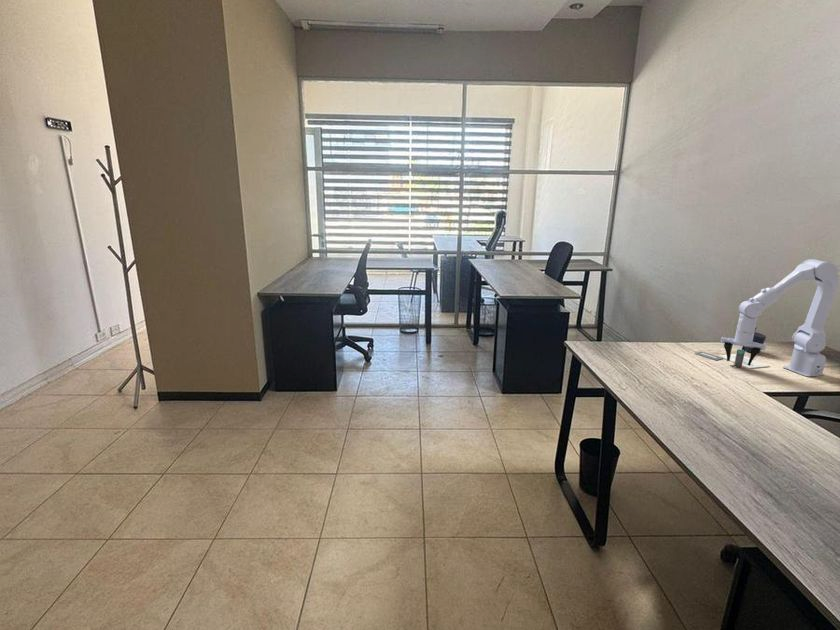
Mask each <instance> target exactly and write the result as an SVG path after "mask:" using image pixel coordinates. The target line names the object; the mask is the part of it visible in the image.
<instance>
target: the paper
mask: <svg viewBox="0 0 840 630" xmlns="http://www.w3.org/2000/svg"><path fill="white" fill-rule="evenodd" d="M736 354H737V353H731V356H730V360H729V361H728V362H731V363H733V364H734V363H735V359H736ZM718 357H722V358H723V360H726V361H727V354H720V355H718ZM749 359H750V357H747V356H745V355H744V358H743V363H742V367H743V368H745V369H749V370H751V369H761V368H768V367H770V365H768V364H766V363H763V362H761V361H758V360H755V359H753V360H752V362H751V365H750V366H749V365H748V362H749Z"/></svg>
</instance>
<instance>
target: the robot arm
mask: <svg viewBox="0 0 840 630" xmlns="http://www.w3.org/2000/svg"><path fill="white" fill-rule="evenodd" d="M839 271H840V268H839V267H837V266H836V265H835V263H833V262H830V261H823V260H818V259H815V258H809V259H805V260H804V261H802V263H800V264H798V265H797V266H796V267H795V269H794V270H793V271H791V272H790V273H789V274H787V276H785V277H784V278H783V279H781V280H780V281H779V282H778V283H776V284H775V285H774V286H772V287H766V288H762V289H760V292H759V293H757V294H756V295H754V296H753V297H750V298H749V299H748V300H745V301H742V302H741V303H740V304H739V305H738V306H737V311H738V312H739V317H738V320H737V321H738V323H737V325H736V331H735V335H734V338H732V337H723V336H722V337H720V343H722V344H723V348H724V350H725V355H727V360H726V361H727V362H730V361H729V360H730V356H731V354H732V349H733V345H735V346H739V347H743V346H745V347H750V348H752V350H751V352H750V356H749V358H750V359H749V362H748V365H749V366H750V365H751V362H752V360H755V357H757V355H758V354H760V353H761V351H766V348H767V344H764V343H763V344H760V343H756V342H752V341H753V337H754V332H756V331H755V328H756V329H757V327H756V326H757V324H758V318H759V317H760V316H762V314H763V313H764V310H766V308H768V307H769V306H771V305H772V304H773V303H775V302H777V301H778V300H780V298H781V294H782V293H784V292H786V291H787V290H789V289H791V288H792V287H794V286H795V285H797V284H799V283H800V282H803V281H814V282H815V283H816V284H817V288H816V290H815V294H814V296H813V299H812V301H811V304H810V307H809V310H808V313H807V315H806V318H805V321H804V323H803V324H802V325H800V326H798V328H797V331H795V332H794V333H793V335H792V337H791V341H792V342H793V343H794V345H793V351H792V354H791V359H790V361H789V365H786V366H785V365H784V366H783V367H782V368H783V369H785V370H789V371H792V372H794V373H796V374H799V375H802V376H805V377H807V378H808V377H818V376H824V375H825V374H824V369H825V365H826V362H827V357H826V356H825V355H824V354H821V353H820V352H822V351H823V350H824V349H825V348H826V345H827V342H826V339H827V334H826V331H825V330H824V326H825V323H826V321H827V319H828V316H829V313H830V310H831V307H832V306H833V302H834V299H835V297H836V295H837V292H838V289H839V286H840V278H839ZM760 349H761V350H760ZM759 352H760V353H759Z"/></svg>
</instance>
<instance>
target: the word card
mask: <svg viewBox="0 0 840 630" xmlns="http://www.w3.org/2000/svg"><path fill="white" fill-rule="evenodd" d="M694 355H698V356H700V357H704V358H706V359H710V360H713V361H720V360H724V358H722V357H719V355H716V354H712V353H710V352H709V353H708V352H705V351H698V352H694Z"/></svg>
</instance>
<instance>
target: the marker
mask: <svg viewBox="0 0 840 630" xmlns="http://www.w3.org/2000/svg"><path fill="white" fill-rule="evenodd" d="M745 353H746V350H745V349H744V350H742V348H739V349H736V353H735V354H736V359H735V363H734V362H733V366H734V367H736V368H740V369H741V368H742V367H743V366H742V363H743V358H744V356H745Z"/></svg>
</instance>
